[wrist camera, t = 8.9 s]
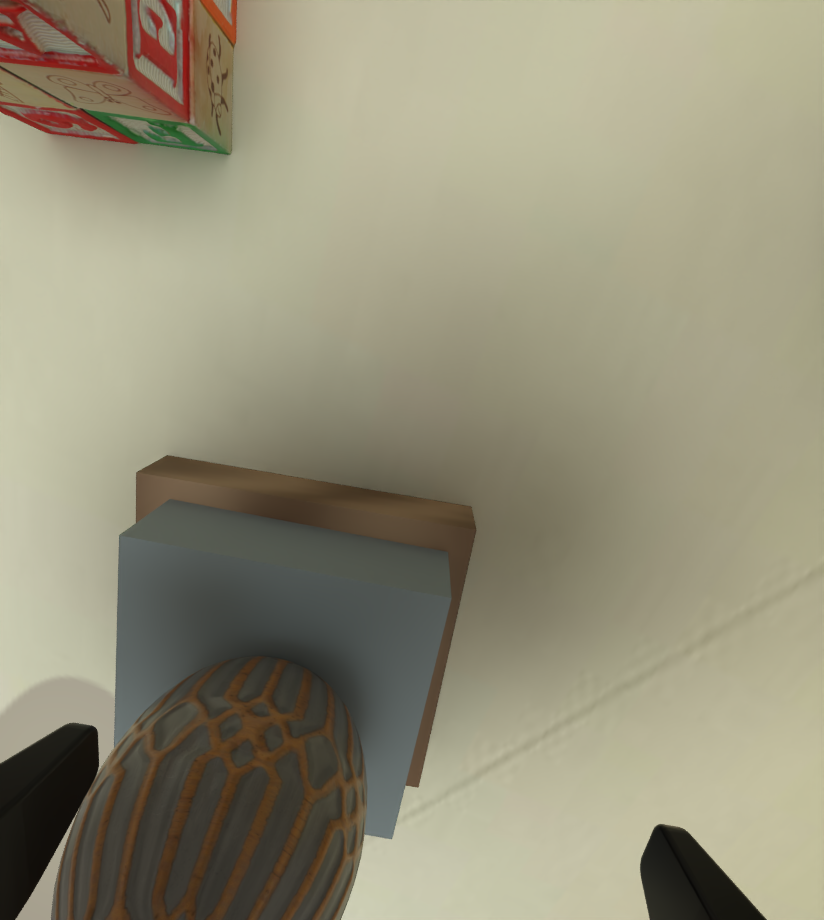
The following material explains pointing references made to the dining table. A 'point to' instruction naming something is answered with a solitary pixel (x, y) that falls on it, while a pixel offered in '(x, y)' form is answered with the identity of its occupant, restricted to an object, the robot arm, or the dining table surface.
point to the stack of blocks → (121, 69)
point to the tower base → (332, 511)
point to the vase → (223, 805)
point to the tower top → (285, 621)
